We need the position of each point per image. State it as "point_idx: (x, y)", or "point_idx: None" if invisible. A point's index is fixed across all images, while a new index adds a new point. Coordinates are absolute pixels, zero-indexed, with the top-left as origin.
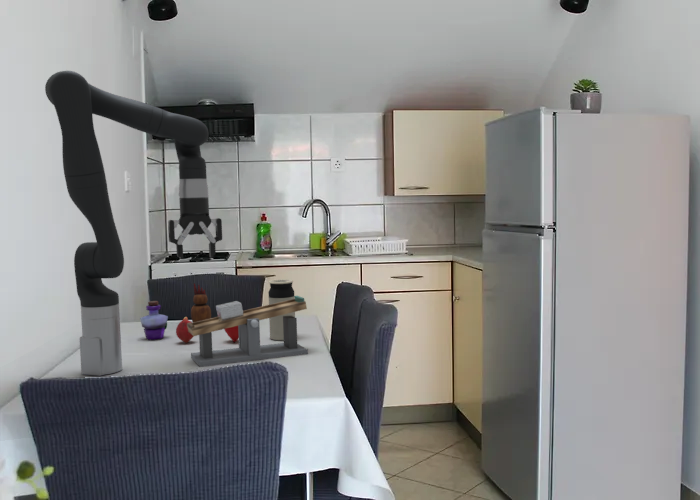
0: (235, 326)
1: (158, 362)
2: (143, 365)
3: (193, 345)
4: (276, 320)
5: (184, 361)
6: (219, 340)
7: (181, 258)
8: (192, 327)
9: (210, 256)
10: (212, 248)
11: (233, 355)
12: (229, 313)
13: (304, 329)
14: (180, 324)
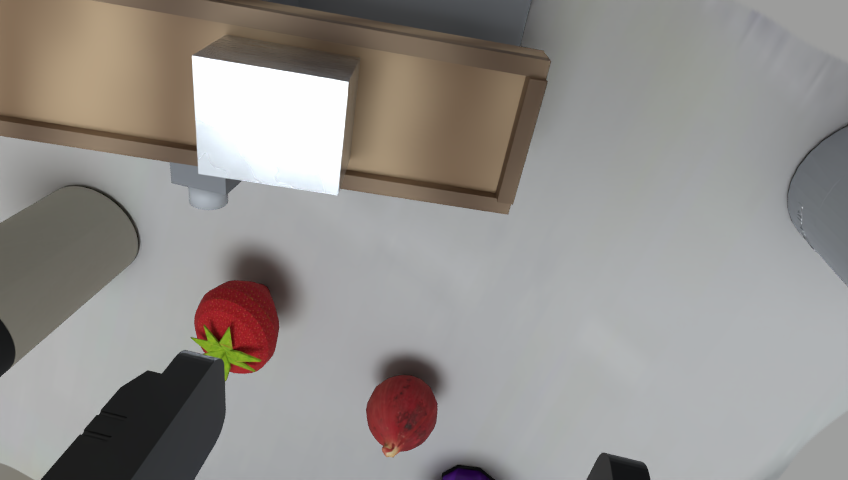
0: (240, 293)
1: (625, 180)
2: (696, 172)
3: (404, 334)
4: (66, 245)
5: (539, 126)
6: (303, 341)
7: (630, 459)
8: (540, 78)
9: (218, 381)
10: (117, 447)
11: (358, 10)
12: (299, 60)
13: None
14: (419, 430)
